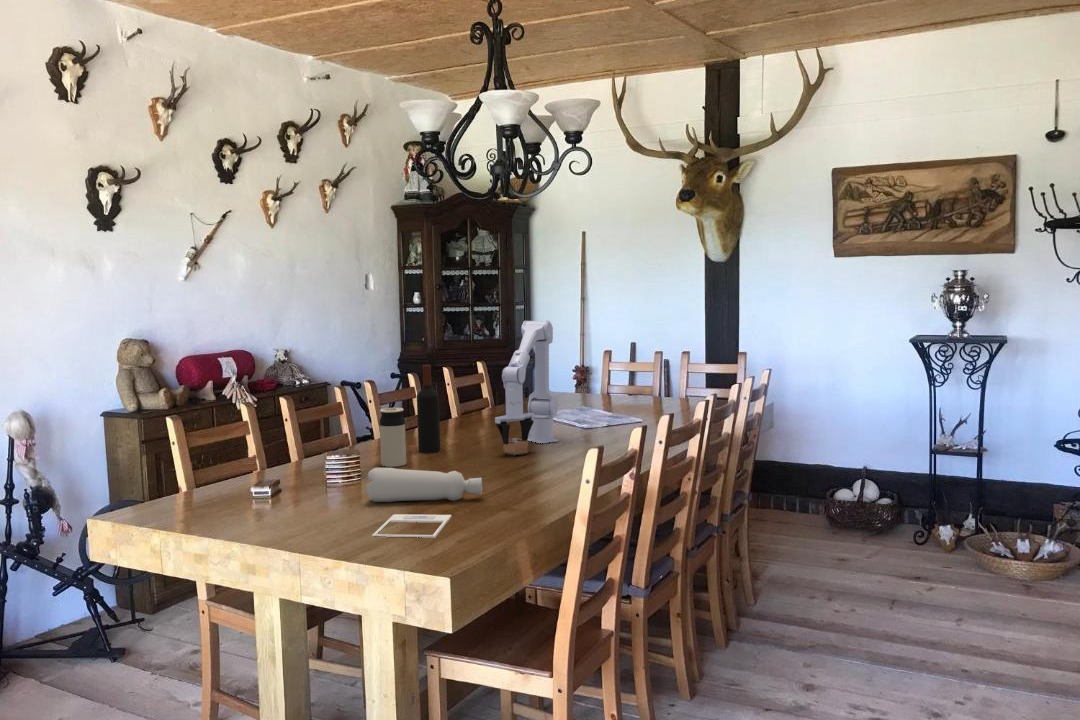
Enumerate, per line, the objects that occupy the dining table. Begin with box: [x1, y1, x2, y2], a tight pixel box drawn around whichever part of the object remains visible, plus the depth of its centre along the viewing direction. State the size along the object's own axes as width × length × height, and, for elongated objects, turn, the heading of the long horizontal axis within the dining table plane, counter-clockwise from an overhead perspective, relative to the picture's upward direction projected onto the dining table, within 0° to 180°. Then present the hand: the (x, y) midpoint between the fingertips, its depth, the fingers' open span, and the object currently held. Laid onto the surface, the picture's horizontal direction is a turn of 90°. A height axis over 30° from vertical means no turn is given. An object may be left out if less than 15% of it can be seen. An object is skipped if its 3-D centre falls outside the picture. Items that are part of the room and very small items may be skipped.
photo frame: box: [371, 513, 453, 539], centre depth 208 cm, size 15×1×18 cm
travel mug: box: [379, 407, 407, 468], centre depth 280 cm, size 8×8×18 cm
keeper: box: [504, 438, 527, 457], centre depth 293 cm, size 5×5×5 cm
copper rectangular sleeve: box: [502, 437, 529, 454], centre depth 293 cm, size 7×5×4 cm
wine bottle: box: [416, 363, 441, 454], centre depth 302 cm, size 8×8×30 cm
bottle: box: [365, 467, 483, 503], centre depth 233 cm, size 9×9×30 cm
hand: (515, 442), depth 293 cm, fingers open, 7 cm apart
